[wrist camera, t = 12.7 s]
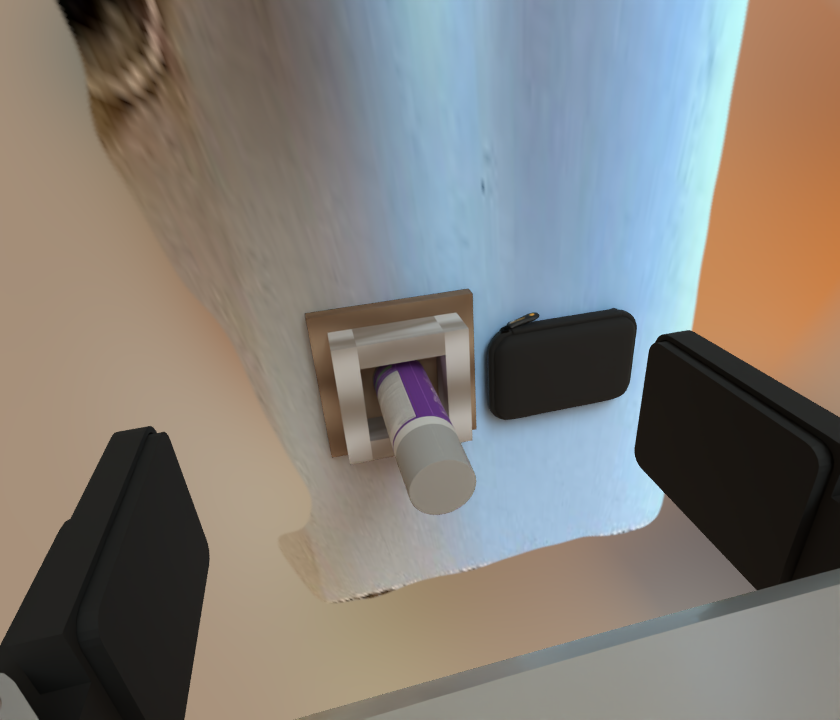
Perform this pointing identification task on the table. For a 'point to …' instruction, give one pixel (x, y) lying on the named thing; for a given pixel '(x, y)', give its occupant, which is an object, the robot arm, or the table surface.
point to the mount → (388, 344)
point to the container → (423, 439)
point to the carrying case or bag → (559, 362)
